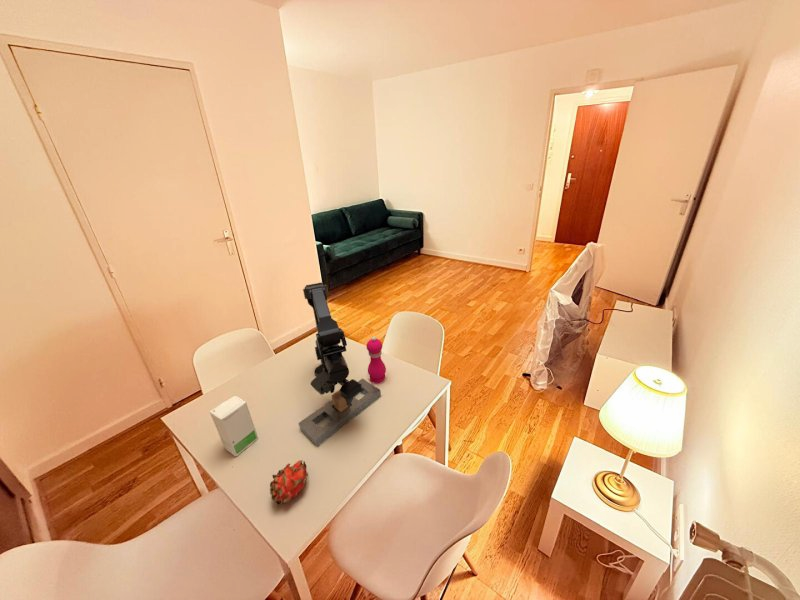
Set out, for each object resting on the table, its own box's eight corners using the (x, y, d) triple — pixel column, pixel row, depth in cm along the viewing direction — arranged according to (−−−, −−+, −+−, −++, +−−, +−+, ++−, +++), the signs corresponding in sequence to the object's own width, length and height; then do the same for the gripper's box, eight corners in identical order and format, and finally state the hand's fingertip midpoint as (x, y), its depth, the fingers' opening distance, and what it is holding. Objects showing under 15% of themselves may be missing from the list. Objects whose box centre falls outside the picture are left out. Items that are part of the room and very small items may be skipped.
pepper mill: (387, 372, 123) (384, 331, 114) (385, 385, 117) (381, 342, 108) (370, 372, 124) (365, 331, 115) (367, 384, 117) (361, 342, 109)
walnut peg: (334, 412, 105) (331, 395, 102) (343, 405, 108) (340, 388, 104) (341, 418, 103) (338, 400, 99) (350, 411, 105) (347, 394, 102)
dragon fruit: (272, 515, 77) (305, 479, 87) (290, 513, 72) (323, 475, 83) (255, 487, 77) (290, 454, 87) (272, 483, 72) (307, 449, 83)
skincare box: (235, 457, 91) (219, 421, 84) (223, 448, 94) (207, 412, 87) (259, 437, 97) (246, 401, 90) (247, 429, 100) (234, 394, 94)
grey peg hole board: (300, 429, 99) (298, 423, 98) (363, 384, 117) (362, 378, 116) (317, 446, 93) (315, 439, 92) (381, 396, 111) (380, 389, 110)
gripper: (296, 362, 96) (305, 399, 103) (330, 388, 84) (338, 427, 91) (325, 347, 103) (331, 382, 110) (360, 368, 92) (365, 406, 99)
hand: (340, 398), depth 102 cm, fingers open, 9 cm apart
